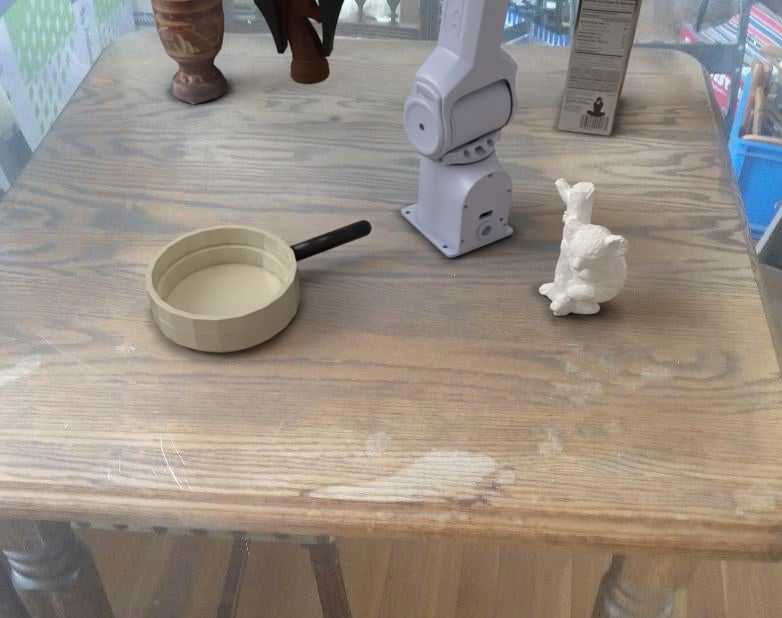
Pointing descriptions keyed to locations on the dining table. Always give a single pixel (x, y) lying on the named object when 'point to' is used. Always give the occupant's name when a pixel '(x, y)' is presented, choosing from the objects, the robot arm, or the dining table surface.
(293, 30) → the chess piece
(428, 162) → the robot arm
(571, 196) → the koala figurine
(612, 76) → the coffee box
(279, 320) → the pan
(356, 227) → the pan handle
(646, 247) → the dining table surface
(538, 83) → the dining table surface
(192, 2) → the painted clay vase
